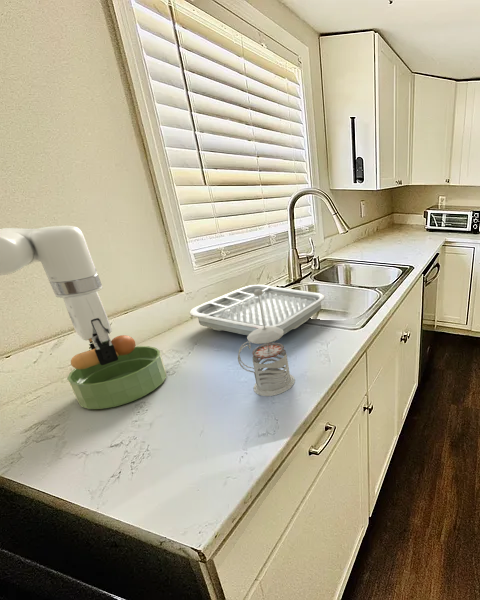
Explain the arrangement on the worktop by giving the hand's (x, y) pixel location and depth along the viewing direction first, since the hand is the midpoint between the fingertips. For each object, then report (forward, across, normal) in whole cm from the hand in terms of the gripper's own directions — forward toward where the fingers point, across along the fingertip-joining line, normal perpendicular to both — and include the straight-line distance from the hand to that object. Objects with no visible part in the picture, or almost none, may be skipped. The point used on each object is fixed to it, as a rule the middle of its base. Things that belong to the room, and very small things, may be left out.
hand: (106, 358), depth 76 cm
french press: (+9, +28, +23) cm, 38 cm away
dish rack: (+9, -7, +43) cm, 45 cm away
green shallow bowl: (+9, 0, +1) cm, 9 cm away
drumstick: (0, 0, 0) cm, 0 cm away
